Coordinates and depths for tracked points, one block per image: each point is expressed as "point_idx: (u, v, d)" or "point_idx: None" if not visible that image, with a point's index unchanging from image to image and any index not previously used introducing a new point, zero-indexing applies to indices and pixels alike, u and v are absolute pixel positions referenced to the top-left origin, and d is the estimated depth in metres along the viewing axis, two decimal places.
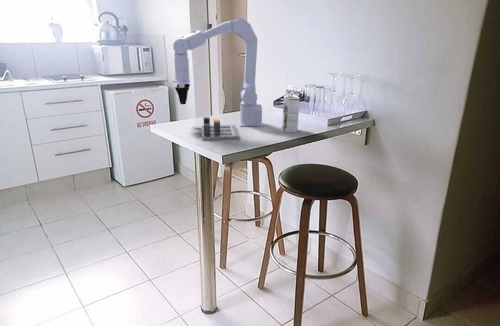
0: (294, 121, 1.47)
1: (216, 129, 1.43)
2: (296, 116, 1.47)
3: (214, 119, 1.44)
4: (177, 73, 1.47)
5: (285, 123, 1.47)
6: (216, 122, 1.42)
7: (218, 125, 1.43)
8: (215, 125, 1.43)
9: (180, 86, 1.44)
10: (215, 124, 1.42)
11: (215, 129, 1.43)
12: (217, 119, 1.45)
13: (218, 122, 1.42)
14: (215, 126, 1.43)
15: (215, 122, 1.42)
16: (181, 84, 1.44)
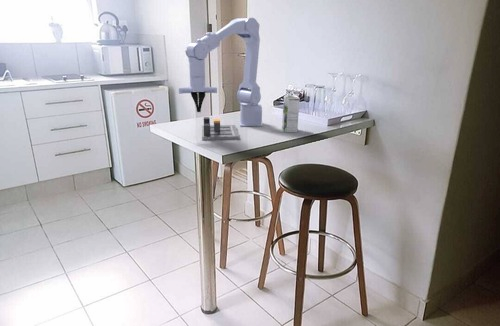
0: (294, 121, 1.47)
1: (216, 129, 1.43)
2: (296, 116, 1.47)
3: (214, 119, 1.44)
4: None
5: (285, 123, 1.47)
6: (216, 122, 1.42)
7: (218, 125, 1.43)
8: (215, 125, 1.43)
9: None
10: (215, 124, 1.42)
11: (215, 129, 1.43)
12: (217, 119, 1.45)
13: (218, 122, 1.42)
14: (215, 126, 1.43)
15: (215, 122, 1.42)
16: None
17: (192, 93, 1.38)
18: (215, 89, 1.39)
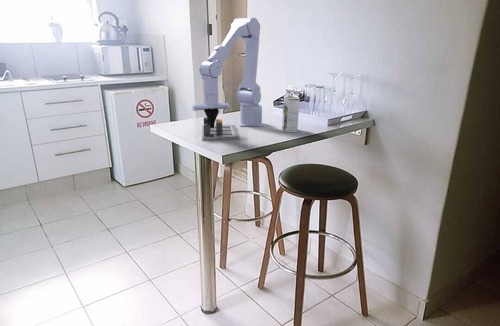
0: (294, 121, 1.47)
1: (218, 129, 1.43)
2: (296, 116, 1.47)
3: (216, 119, 1.45)
4: None
5: (285, 123, 1.47)
6: (218, 122, 1.42)
7: (220, 125, 1.43)
8: (217, 125, 1.43)
9: None
10: (217, 124, 1.42)
11: (217, 129, 1.43)
12: (219, 119, 1.45)
13: (220, 122, 1.42)
14: (217, 126, 1.43)
15: (217, 122, 1.42)
16: (192, 107, 1.39)
17: (206, 110, 1.40)
18: (228, 105, 1.42)
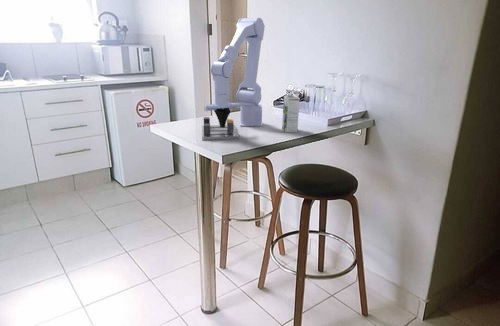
0: (294, 121, 1.47)
1: (229, 129, 1.44)
2: (296, 116, 1.47)
3: (227, 119, 1.45)
4: None
5: (285, 123, 1.47)
6: (229, 122, 1.43)
7: (231, 125, 1.43)
8: (228, 125, 1.43)
9: (204, 109, 1.39)
10: (228, 124, 1.43)
11: (228, 129, 1.44)
12: (230, 119, 1.45)
13: (231, 122, 1.43)
14: (228, 126, 1.43)
15: (228, 122, 1.43)
16: (204, 107, 1.39)
17: (217, 110, 1.41)
18: (238, 105, 1.44)
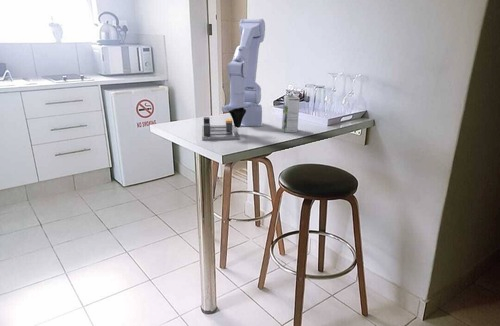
0: (294, 121, 1.47)
1: (228, 129, 1.44)
2: (296, 116, 1.47)
3: (226, 119, 1.45)
4: (230, 96, 1.41)
5: (285, 123, 1.47)
6: (228, 122, 1.43)
7: (230, 125, 1.43)
8: (227, 125, 1.43)
9: (222, 110, 1.38)
10: (227, 124, 1.43)
11: (227, 129, 1.44)
12: (229, 119, 1.45)
13: (230, 122, 1.43)
14: (227, 126, 1.43)
15: (227, 122, 1.43)
16: (223, 108, 1.38)
17: (234, 110, 1.41)
18: (251, 104, 1.46)
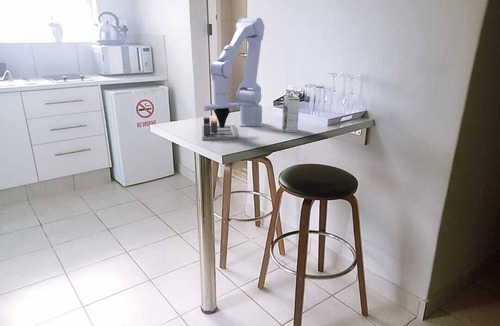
0: (294, 121, 1.47)
1: (213, 129, 1.43)
2: (296, 116, 1.47)
3: (211, 119, 1.44)
4: None
5: (285, 123, 1.47)
6: (213, 122, 1.42)
7: (215, 125, 1.43)
8: (212, 125, 1.42)
9: (203, 109, 1.39)
10: (212, 124, 1.42)
11: (212, 129, 1.43)
12: (214, 119, 1.44)
13: (215, 122, 1.42)
14: (212, 126, 1.43)
15: (212, 122, 1.42)
16: (204, 107, 1.39)
17: (217, 110, 1.41)
18: (238, 105, 1.44)
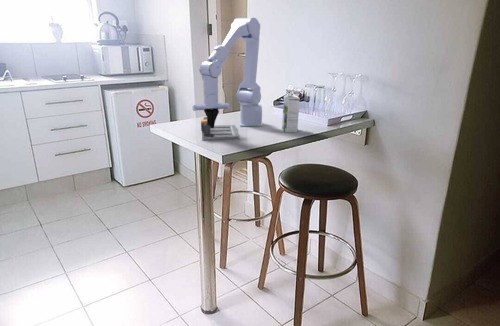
0: (294, 121, 1.47)
1: (203, 129, 1.43)
2: (296, 116, 1.47)
3: (201, 119, 1.44)
4: None
5: (285, 123, 1.47)
6: (203, 122, 1.42)
7: None
8: (202, 125, 1.42)
9: (192, 108, 1.40)
10: (202, 124, 1.42)
11: (202, 129, 1.42)
12: (204, 119, 1.44)
13: (205, 122, 1.42)
14: (202, 126, 1.42)
15: (202, 122, 1.42)
16: (192, 107, 1.39)
17: (206, 110, 1.40)
18: (228, 105, 1.42)
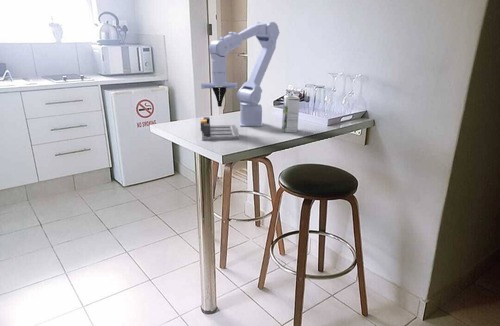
0: (294, 121, 1.47)
1: (203, 129, 1.43)
2: (296, 116, 1.47)
3: (201, 119, 1.44)
4: None
5: (285, 123, 1.47)
6: (203, 122, 1.42)
7: None
8: (202, 125, 1.42)
9: (201, 87, 1.45)
10: (201, 124, 1.42)
11: (202, 129, 1.42)
12: (204, 119, 1.44)
13: (205, 122, 1.42)
14: (202, 126, 1.42)
15: (202, 122, 1.41)
16: (201, 85, 1.44)
17: (214, 88, 1.45)
18: (236, 85, 1.45)
